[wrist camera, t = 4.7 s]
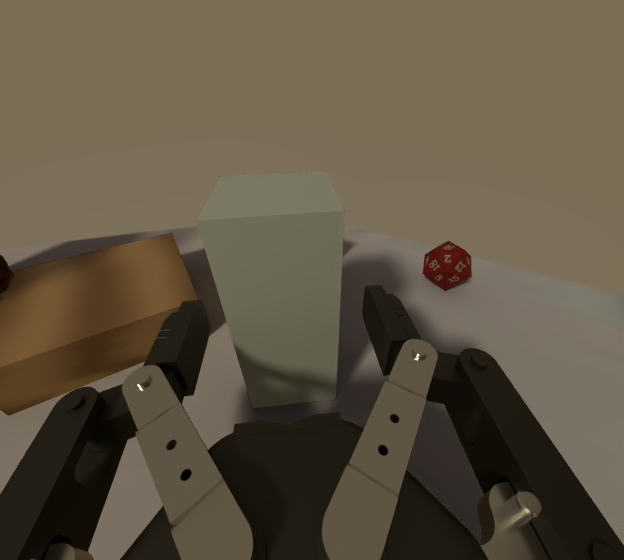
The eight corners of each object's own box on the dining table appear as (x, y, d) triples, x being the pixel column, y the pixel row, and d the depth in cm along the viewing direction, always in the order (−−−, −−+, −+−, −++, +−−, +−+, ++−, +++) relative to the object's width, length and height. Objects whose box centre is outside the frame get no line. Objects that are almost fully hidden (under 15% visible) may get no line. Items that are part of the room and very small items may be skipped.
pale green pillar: (257, 342, 20) (221, 176, 13) (324, 336, 21) (325, 170, 13) (252, 408, 16) (196, 220, 9) (335, 399, 17) (344, 210, 9)
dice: (431, 265, 28) (441, 229, 25) (475, 286, 25) (491, 248, 23) (408, 279, 26) (416, 242, 24) (452, 304, 23) (467, 264, 21)
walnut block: (184, 266, 30) (171, 232, 27) (212, 338, 21) (198, 299, 19) (46, 305, 25) (17, 269, 23) (12, 419, 17) (-40, 380, 14)
